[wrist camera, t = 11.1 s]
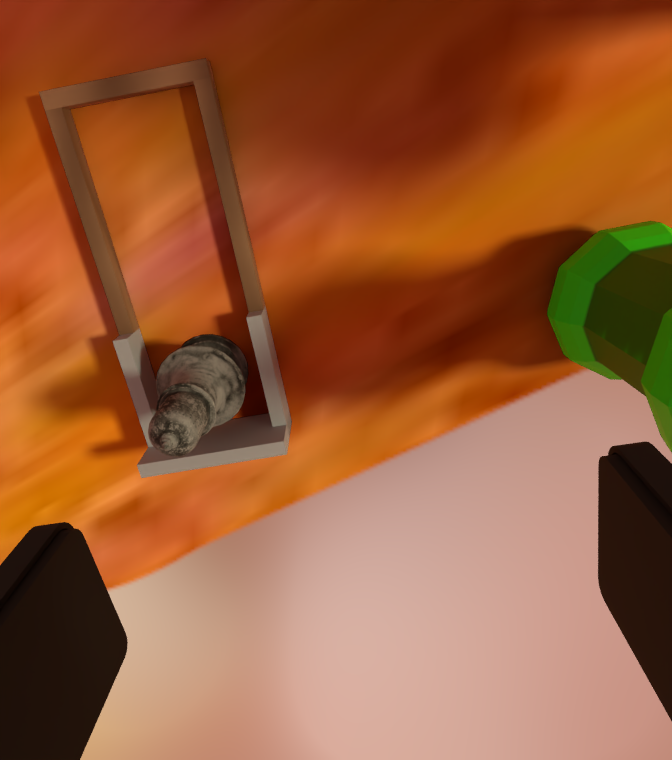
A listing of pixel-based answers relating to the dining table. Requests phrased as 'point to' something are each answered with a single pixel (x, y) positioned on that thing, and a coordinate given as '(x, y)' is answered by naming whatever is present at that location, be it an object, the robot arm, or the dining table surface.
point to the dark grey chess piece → (197, 392)
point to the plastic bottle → (621, 311)
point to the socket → (222, 441)
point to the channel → (84, 189)
